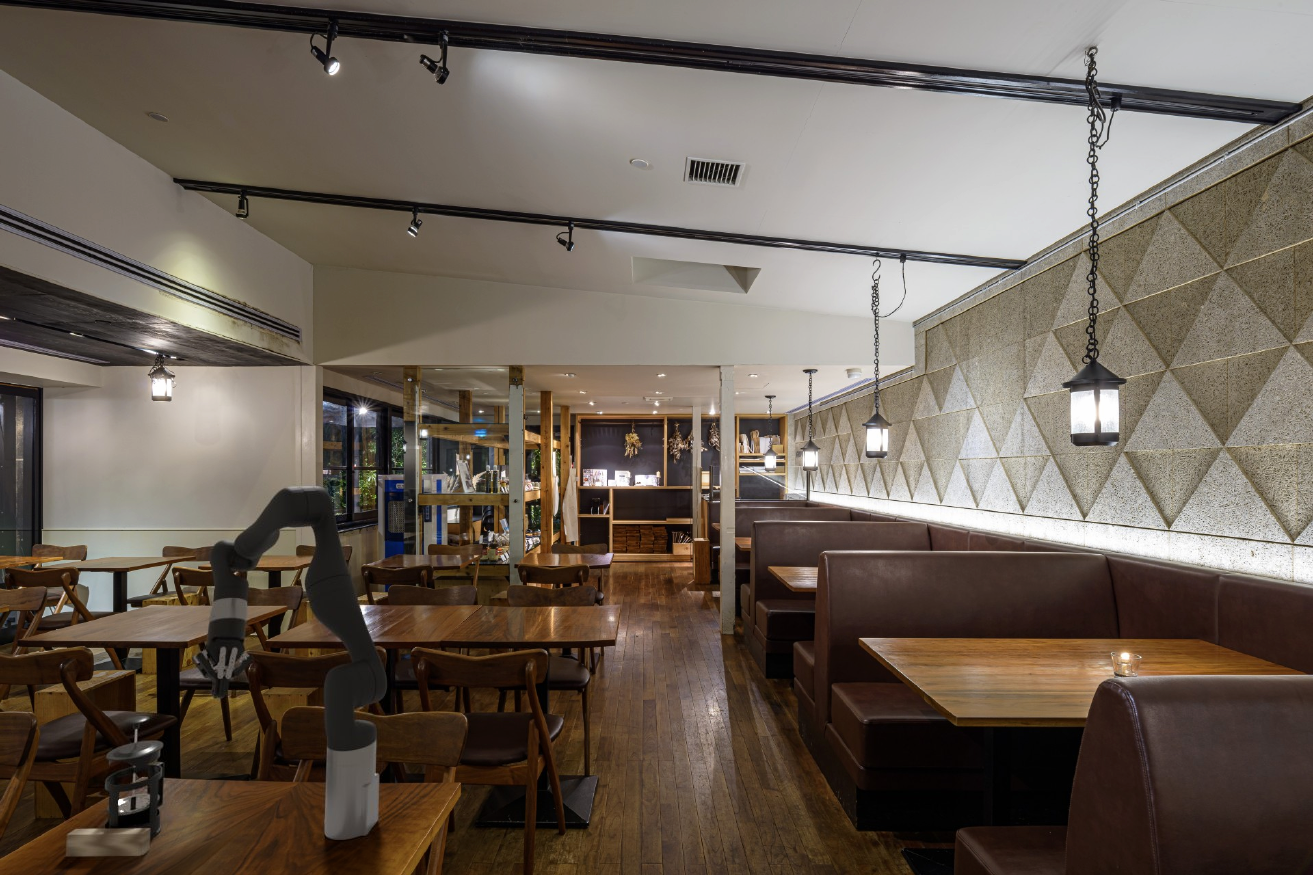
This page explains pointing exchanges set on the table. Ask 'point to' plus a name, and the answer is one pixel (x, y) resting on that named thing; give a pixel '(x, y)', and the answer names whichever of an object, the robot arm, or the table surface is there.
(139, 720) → the french press
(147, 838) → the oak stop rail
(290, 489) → the robot arm
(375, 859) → the table surface
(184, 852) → the table surface
